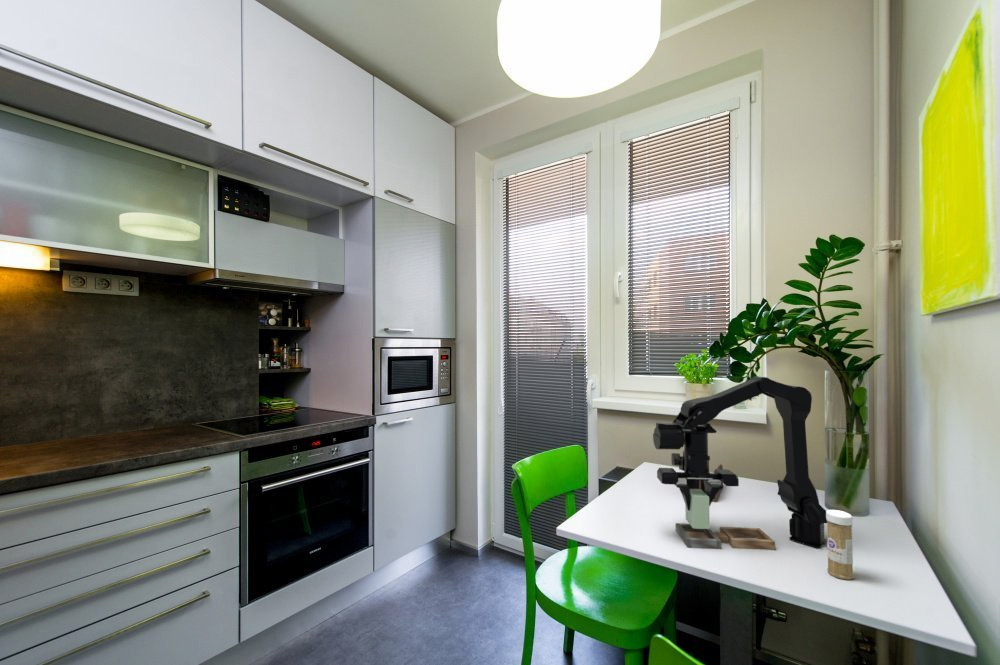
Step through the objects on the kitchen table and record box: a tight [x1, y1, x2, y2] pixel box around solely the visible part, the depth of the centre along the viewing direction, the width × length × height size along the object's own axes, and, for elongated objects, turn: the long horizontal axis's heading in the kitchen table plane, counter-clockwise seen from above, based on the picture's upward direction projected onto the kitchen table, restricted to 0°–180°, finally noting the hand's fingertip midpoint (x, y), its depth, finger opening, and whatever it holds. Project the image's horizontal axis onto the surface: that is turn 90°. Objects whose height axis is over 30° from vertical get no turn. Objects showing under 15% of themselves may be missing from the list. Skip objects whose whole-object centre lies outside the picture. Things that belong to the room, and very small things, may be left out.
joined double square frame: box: [675, 522, 776, 551], centre depth 111 cm, size 21×10×2 cm, turn 84°
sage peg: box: [684, 489, 711, 529], centre depth 112 cm, size 6×4×8 cm, turn 174°
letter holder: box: [683, 460, 725, 503], centre depth 150 cm, size 10×20×14 cm, turn 147°
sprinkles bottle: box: [826, 509, 854, 581], centre depth 94 cm, size 5×5×13 cm
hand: (697, 510), depth 112 cm, fingers closed on sage peg, 4 cm apart
